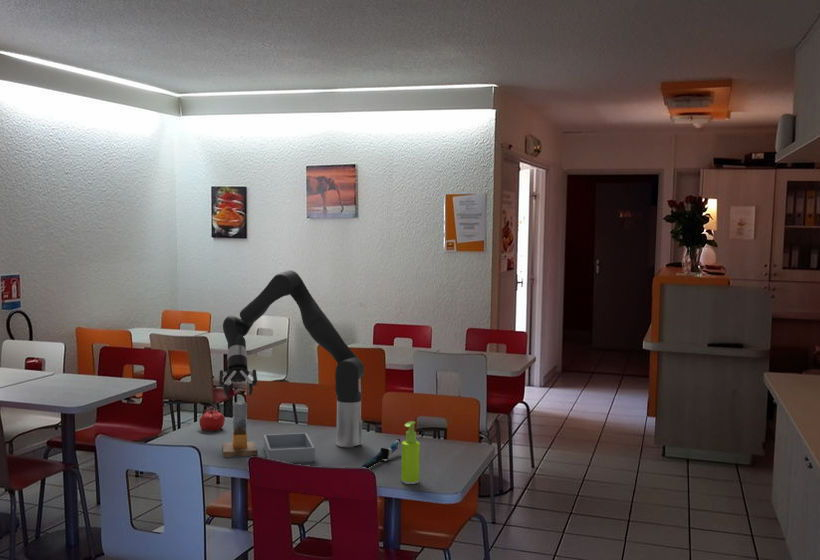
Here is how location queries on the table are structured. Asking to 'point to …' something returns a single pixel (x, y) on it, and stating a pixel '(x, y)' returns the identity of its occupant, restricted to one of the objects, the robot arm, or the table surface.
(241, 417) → the strut
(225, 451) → the stud block
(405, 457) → the soap dispenser
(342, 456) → the table surface
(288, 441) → the bin
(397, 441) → the knife
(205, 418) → the red tomato
